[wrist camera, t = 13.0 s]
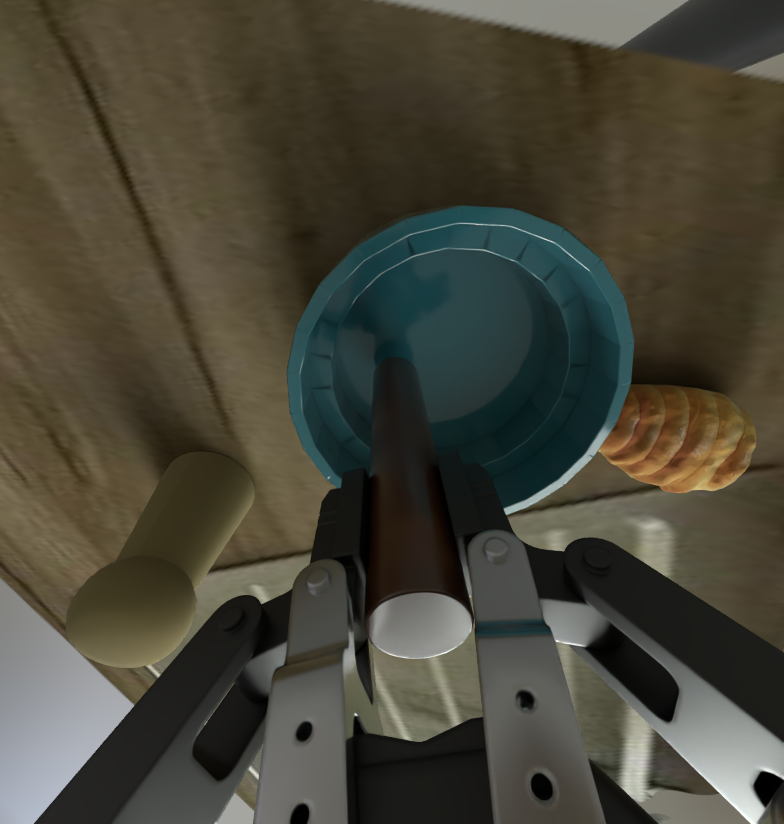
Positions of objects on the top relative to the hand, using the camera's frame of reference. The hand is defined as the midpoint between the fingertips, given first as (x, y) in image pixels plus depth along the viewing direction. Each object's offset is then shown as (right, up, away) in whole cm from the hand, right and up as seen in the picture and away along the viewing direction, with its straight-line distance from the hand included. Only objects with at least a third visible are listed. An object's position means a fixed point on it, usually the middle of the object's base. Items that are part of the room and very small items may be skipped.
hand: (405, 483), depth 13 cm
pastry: (+17, +1, +13) cm, 21 cm away
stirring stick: (0, +4, +8) cm, 9 cm away
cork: (-13, -3, +14) cm, 19 cm away
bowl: (+2, +6, +10) cm, 12 cm away
